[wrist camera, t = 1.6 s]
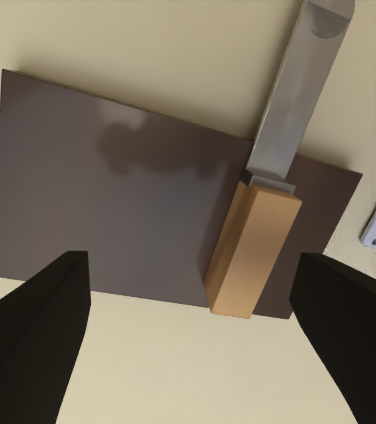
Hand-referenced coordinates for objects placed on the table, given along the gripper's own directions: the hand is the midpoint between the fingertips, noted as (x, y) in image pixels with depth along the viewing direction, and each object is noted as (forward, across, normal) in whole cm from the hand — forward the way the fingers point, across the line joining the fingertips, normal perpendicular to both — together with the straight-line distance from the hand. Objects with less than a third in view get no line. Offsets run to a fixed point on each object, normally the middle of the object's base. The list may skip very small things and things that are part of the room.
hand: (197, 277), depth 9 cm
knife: (+8, -5, -2) cm, 10 cm away
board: (+10, 0, +2) cm, 10 cm away
